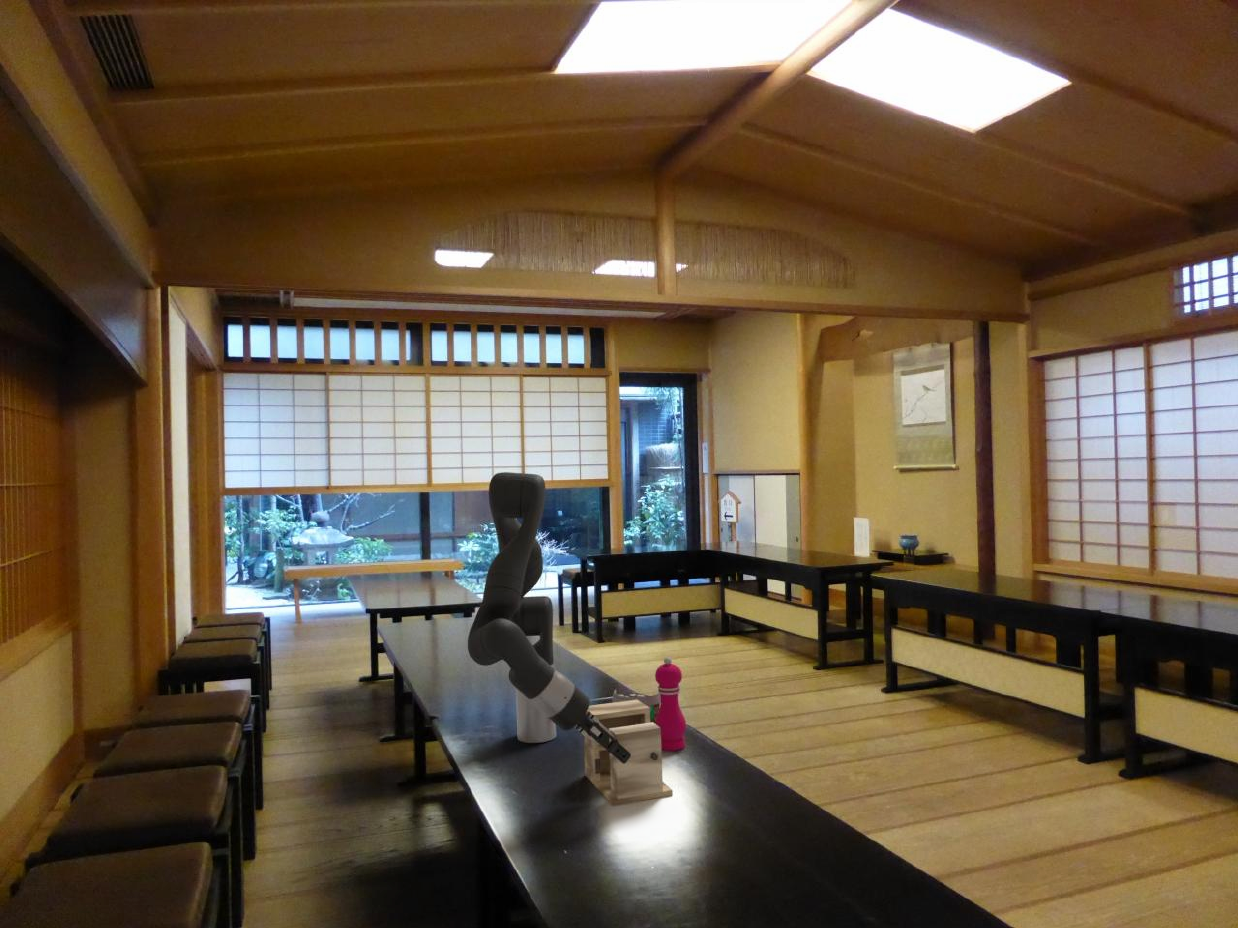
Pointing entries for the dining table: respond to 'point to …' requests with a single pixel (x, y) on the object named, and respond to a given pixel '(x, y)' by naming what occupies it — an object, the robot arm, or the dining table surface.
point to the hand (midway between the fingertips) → (619, 752)
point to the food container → (649, 701)
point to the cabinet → (600, 758)
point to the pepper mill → (670, 707)
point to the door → (637, 761)
